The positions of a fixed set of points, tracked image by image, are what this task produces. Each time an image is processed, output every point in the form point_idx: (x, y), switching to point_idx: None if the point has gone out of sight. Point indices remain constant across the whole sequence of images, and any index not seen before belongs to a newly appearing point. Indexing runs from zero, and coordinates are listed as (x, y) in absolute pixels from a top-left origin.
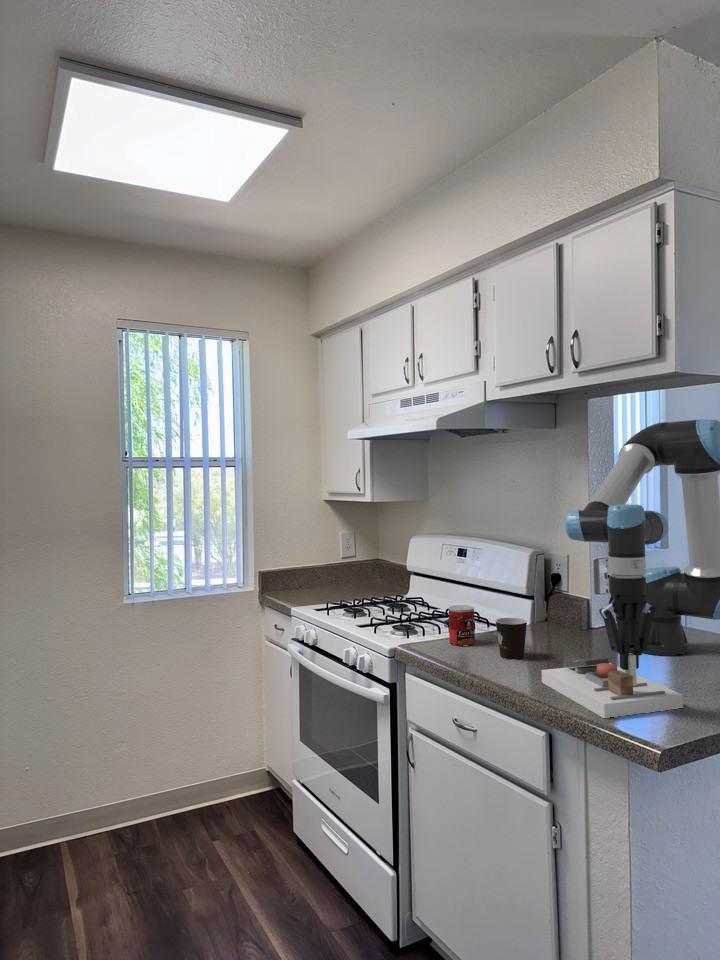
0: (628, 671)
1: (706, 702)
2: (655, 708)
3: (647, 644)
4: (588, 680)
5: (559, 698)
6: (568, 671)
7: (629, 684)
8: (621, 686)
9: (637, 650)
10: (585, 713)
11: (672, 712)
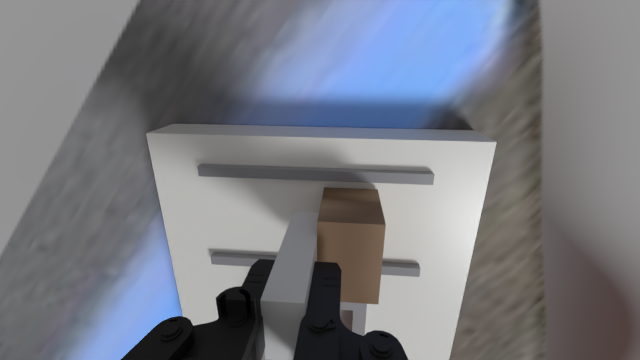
0: (316, 255)
1: (76, 148)
2: (273, 128)
3: (132, 351)
4: None
5: (467, 313)
6: None
7: (336, 205)
8: (377, 204)
9: (236, 325)
10: (493, 191)
11: (224, 107)
